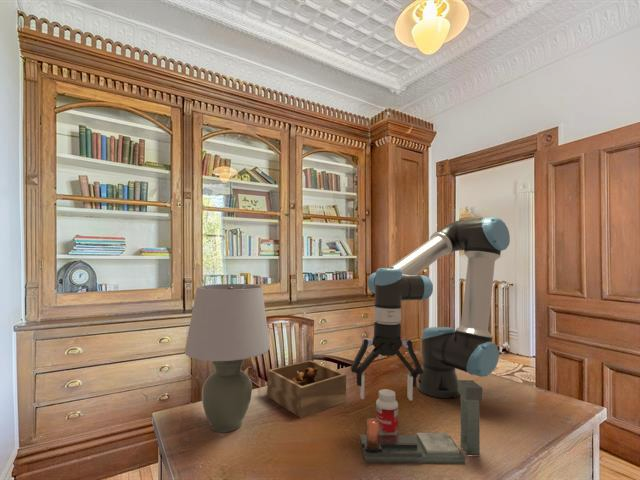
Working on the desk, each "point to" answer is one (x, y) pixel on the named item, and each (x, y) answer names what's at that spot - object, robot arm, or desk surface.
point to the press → (434, 437)
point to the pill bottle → (387, 412)
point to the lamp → (227, 347)
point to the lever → (372, 435)
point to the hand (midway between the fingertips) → (385, 398)
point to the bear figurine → (305, 377)
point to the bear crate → (306, 388)
